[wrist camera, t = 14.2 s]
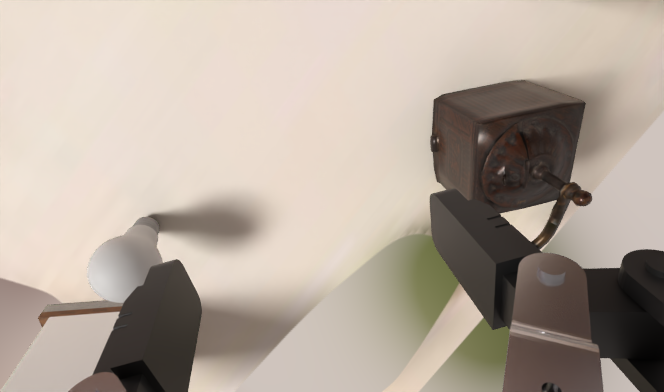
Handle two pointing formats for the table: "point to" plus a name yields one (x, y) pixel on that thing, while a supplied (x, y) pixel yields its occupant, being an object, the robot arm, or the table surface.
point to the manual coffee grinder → (510, 147)
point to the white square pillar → (65, 347)
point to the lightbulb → (124, 261)
